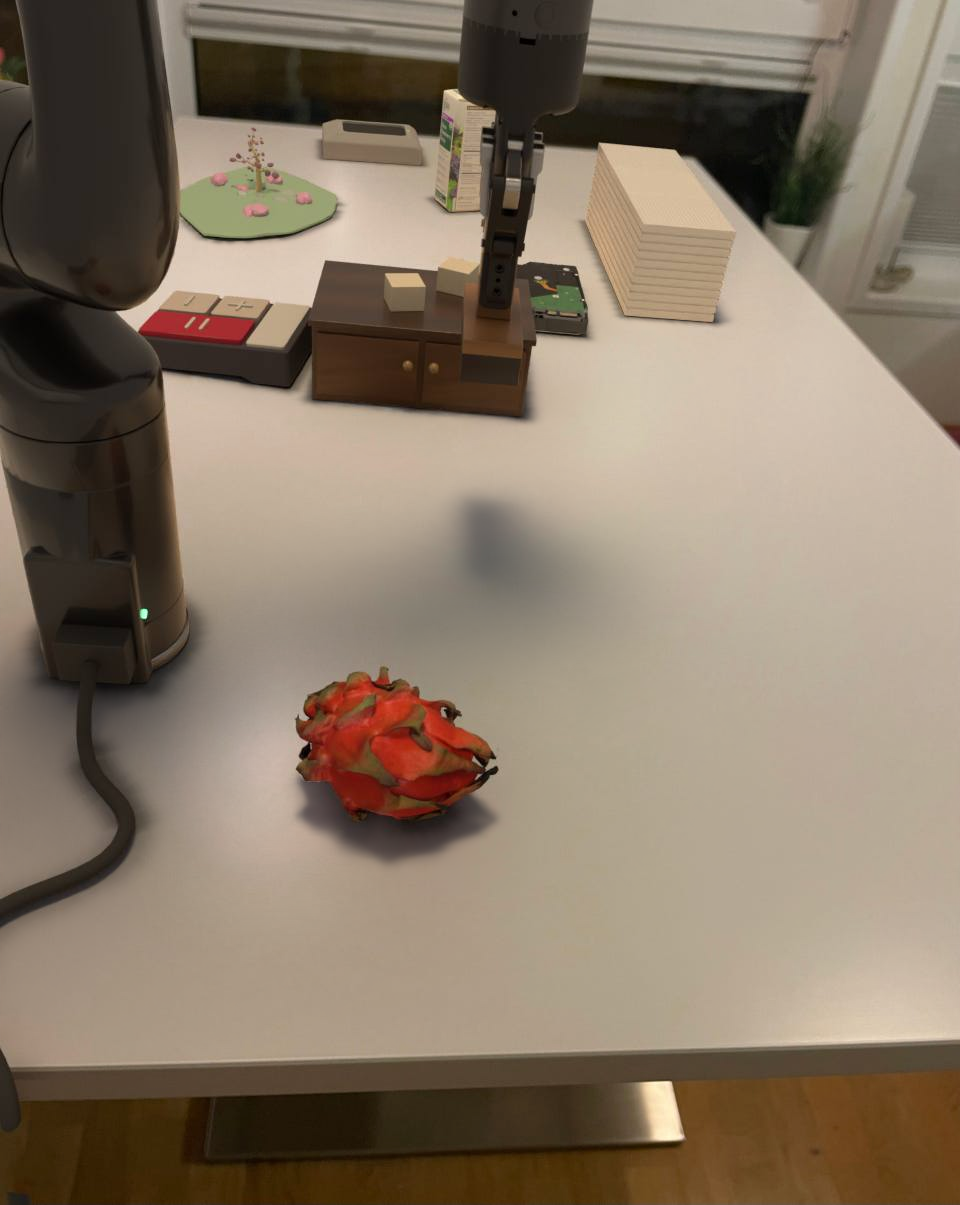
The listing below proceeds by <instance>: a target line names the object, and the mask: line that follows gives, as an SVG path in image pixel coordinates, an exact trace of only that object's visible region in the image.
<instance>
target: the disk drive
mask: <svg viewBox="0 0 960 1205" xmlns="http://www.w3.org/2000/svg"><path fill="white" fill-rule="evenodd" d="M579 274H580V273H579V271H578V268H577V266H576V265H569V264H556V263H547V262H539V261H528V262H525V263H523V264H517V271H516V279H526V280H528V282H529V289H530V296H531V303H532V311H533V318H534V325H535V332H541V333H542V332H543V333H555V334H567V335H576V336H577V335H578V336H579V335H581V334H582V335H586V334H587V329H588V325H589V314H588V311H589V307H588V303H587V301H586V298H585V293H584V289H583V287H582V282H581V279H580V275H579Z"/></svg>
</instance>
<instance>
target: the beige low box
mask: <svg viewBox="0 0 960 1205" xmlns="http://www.w3.org/2000/svg"><path fill="white" fill-rule="evenodd" d="M321 127H322V130H321V132H322V134H321V135H322V136H321V138H322V139H321V141H322V142H321V143H322V145H321V146H322V158H323V159H324V160H337V161H352V162H367V163H380V164H394V165H407V166H408V165H410V166H422V161H423V149H422V146H421V143H420V140H419V136H418V133H417V130H416V129H415V128H414V127H412V126H411V125H410V124H404V123H393V122H376V121H363V120H350V119H337V118H336V119H333V120H329V121H327V122H323V123H322V126H321Z"/></svg>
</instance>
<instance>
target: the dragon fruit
mask: <svg viewBox="0 0 960 1205" xmlns="http://www.w3.org/2000/svg"><path fill="white" fill-rule="evenodd" d="M389 671H390V670H389V667H387V666H385V665H384V666H380V667H379V672H378V677H377V678H376V680H372V677H371V675H370V674H369V672H366V671H361V670H360V671H353V672H351V673H349V674H348V675H347V678H346V680H345V681H343V680H342V681H336V680H335V681H332V682H331V683H329V684H328V685H325V686H324V687H323V688H321V689H319V690H316V691H314V692H312V693H308V694H307V696H306V697H307V698H306V699H305V700H304V702H303V708H302V711H303V714H304V715H305V716H306V717H307V720H303V719H301V718H300V714H299V713H298V714H297V716H296V717H295V718H294V721H295V731H296V734H297V735H298V737H299V738H300V739H301V740H303V741H305V742H307V744H306V745H304V746H302V748H301V750H300V752H299V754H298V758H299V759H300V760H301V761H300V762H298V764H297V765H296V766H295V771H296V772H297V773H298V775H300V776H301V778H302V780H303V781H304V782H305V783H315V782H317V783H319V782H322V781H325V782H328V784H330V786H331V787H332V789H333V790H334V792H335V793H336V795H337V797H338V798H339V800H340V801H341V806H342V808H343V810H344V811H345V813H346V814H347V815H348V817H349V818H350V820H351V821H353V822H356V823H361V822H363V820H364V819H366V817H367V816H368V813H367V812H372V813H374V814H378V815H381V816H388V817H393V819H396V820H399V821H402V820H409V822H418V821H421V820H427V819H431V818H434V817H438V816H444V815H445V814H446V813H447V812H448V811H449V806H451V805H452V804H454V803H455V802H457V801H458V800H460V799H462V798H463V797H465V796H467V795H469V794H472V793H474V792H476V791H478V790H479V789H480V788H482V787H483V786H484V785H485V784H486V783H487V782H488V781H489V780H490V778H491V776H495V775H497V774H498V772H499V770H500V769H499V766H498V765H495V766H493V767H491V768H489V769H486V768H487V767H488V765H489V763H490V760H492V761H494V760H495V761H496V760H497V758H498V756H496V755H495V754H496V753H494V751H493V750H492V749H491V747H490V746H489V743H488V742H487V741H486V740H485V739H483V738H482V737H481V736H480V735H478V734H475V733H473V732H470V731H468V730H466V729H464V728H462V727H459V726H456V724H455V720H456V719H457V717H460V718H462V717H463V713H462V712H461V710H459V709H457V707H456V704H455V703H453V702H452V701H451V700H447V699H437V700H426V699H423V698H420V696H421V694H420V693H421V692H420V689H419V686H417V685H415V686H412V687H411V685H410V683H409V682H408V681H407V680H406V679H403V678H397V679H393V681H391V682H390V677H389ZM442 708H443V711H444V713H445V716H443V714H442ZM497 747H498V748H497V750H496V751H499V746H497ZM474 759H475V760H476V761H477V762H475V761H473V760H474ZM479 764H480V765H479ZM479 775H480V776H479ZM477 777H478V778H477ZM366 811H367V812H366Z"/></svg>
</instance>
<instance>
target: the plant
mask: <svg viewBox="0 0 960 1205" xmlns="http://www.w3.org/2000/svg"><path fill="white" fill-rule="evenodd" d="M250 129H251V131H252V133H255V132H257V129H256V127H250ZM247 137H248V138H249V140H248V141H247V146H248V147H249V148H248V150H247V151H248V152H249V153H252V154H253V155H249V156H248V157H246V159H244V157H243V156H242V155H241V154H240V153H239V152H237V153H236V154H235V157H236V158H235V157H230V158H229V162H230V163H235V162H237V163H242V164H246V163H247V164H248V166H244V167H240V168H237V169H233V170H229V171H226V172H216V173H214V174H213V175H211V176H207V177H204V178H202V179H200V180H198V181H196V182H195V183H193V184H191V185H189V186H187V187H186V188H184V189H183V190H182V191H180V215H181V216H182V217H183V218H184V219H185V220H186V221H187V222H188V223H189V224H190V225H192V227H194V228H195V230H197V231H198V232H199V233H201V234H202V235H203V236H204V237H214V238H224V239H225V238H227V239H253V238H261V237H271V236H281V235H287V234H288V235H289V234H294V233H298V232H301V231H302V230H306V229H308V228H310V227H313V226H315V225H319V224H321V223H323V222H326V221H327V220H329V219H331V218H333V216H334V215H335V214H334V213H335V212H336V209H337V204H338V196H337V195H336V193H333V192H331V191H329V190H327V189H325V188H323V187H321V186H319V185H317V184H315V183H313V182H311V181H309V180H307V179H304V178H301V177H299V176H296V175H294V174H292V173H289V172H286V171H283V170H279V169H276V168H273V167H274V165H275V163H274V162H267V164H266V166H263V165H262V163H260V162H261V161H262V162H265V159H264V158H263V157H265V152H264V151H263V152H261V153H259V152H258V149H257V148H254V146H259V145H264V144H265V142H264V141H263V138H262V137H259V141H257V140H254V138H256V136H255V135H254V134H252V135H250V134H247ZM259 143H260V144H259ZM241 159H242V160H241ZM253 159H254V160H255V161H254V162H251V161H250V160H253ZM260 159H261V160H260Z"/></svg>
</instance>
